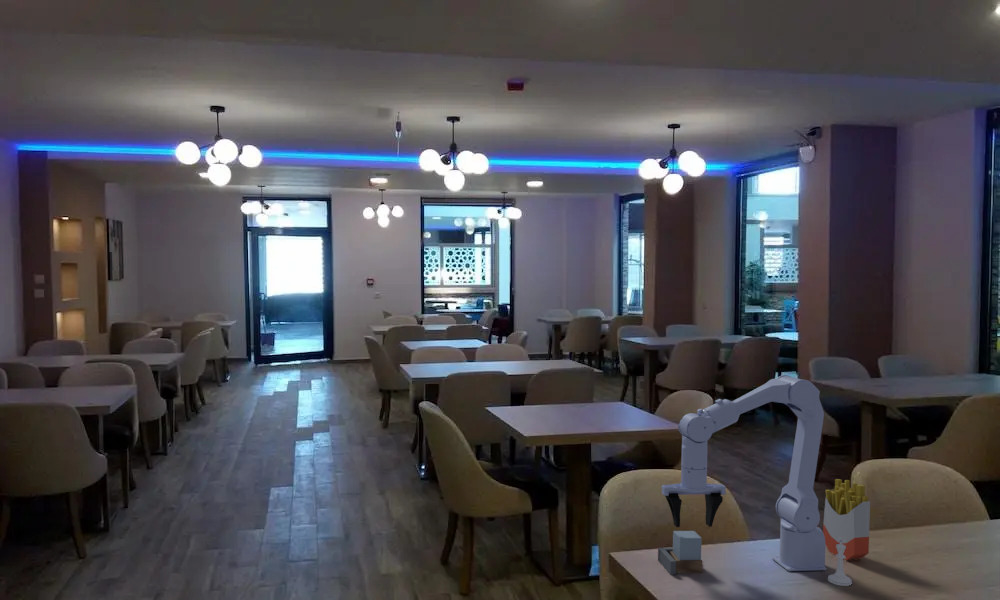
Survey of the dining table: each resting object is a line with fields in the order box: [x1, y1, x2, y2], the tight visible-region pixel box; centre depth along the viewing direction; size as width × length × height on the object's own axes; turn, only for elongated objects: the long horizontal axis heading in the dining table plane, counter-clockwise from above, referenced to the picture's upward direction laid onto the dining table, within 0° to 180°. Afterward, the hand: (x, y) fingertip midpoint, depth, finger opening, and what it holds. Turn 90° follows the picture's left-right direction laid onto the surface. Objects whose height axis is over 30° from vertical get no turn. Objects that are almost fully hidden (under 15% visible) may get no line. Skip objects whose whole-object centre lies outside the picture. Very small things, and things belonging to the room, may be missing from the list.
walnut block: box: [670, 551, 703, 574], centre depth 173 cm, size 6×6×3 cm
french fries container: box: [822, 478, 871, 561], centre depth 183 cm, size 5×11×18 cm, turn 15°
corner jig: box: [657, 546, 677, 576], centre depth 174 cm, size 9×9×3 cm
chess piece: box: [827, 537, 853, 587], centre depth 167 cm, size 5×5×10 cm
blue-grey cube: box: [672, 530, 702, 560], centre depth 173 cm, size 5×5×5 cm
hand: (692, 525), depth 173 cm, fingers open, 7 cm apart
